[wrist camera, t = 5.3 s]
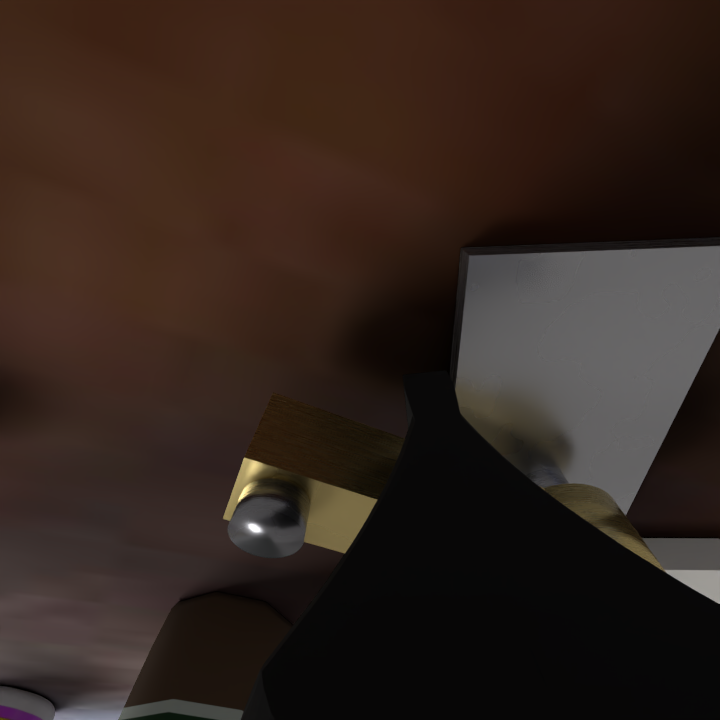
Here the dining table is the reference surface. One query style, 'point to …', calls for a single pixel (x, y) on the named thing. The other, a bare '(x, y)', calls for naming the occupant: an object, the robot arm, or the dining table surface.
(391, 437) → the latch arm
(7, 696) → the supplement bottle
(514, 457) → the plate
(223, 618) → the beer bottle
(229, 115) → the dining table surface
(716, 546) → the door board
